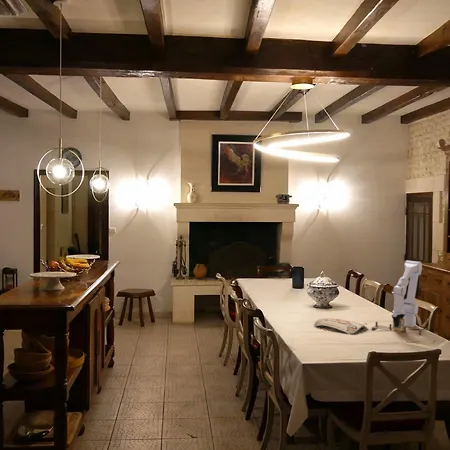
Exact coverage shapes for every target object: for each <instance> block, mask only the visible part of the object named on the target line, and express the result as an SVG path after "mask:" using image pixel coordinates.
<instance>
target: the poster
mask: <svg viewBox="0 0 450 450" xmlns="http://www.w3.org/2000/svg"><path fill="white" fill-rule="evenodd" d="M366 325H368V323H366V322H365V323H359V322H354V321H350V320H346V319H341V318H333V317H331V318H329V317H325V318H319V319H317V320H316V321H315V322H314V324H313V327H315V328H316V327H318V326H325V327H330V328H334V329H337V330H339V331H342V332H345V333H346V334H347V335H349V336H350V335H353V334H355V333H357V332H358V331H359V330H360V329H361V328H362V327H364V326H366Z"/></svg>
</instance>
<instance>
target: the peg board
mask: <svg viewBox="0 0 450 450" xmlns="http://www.w3.org/2000/svg"><path fill="white" fill-rule="evenodd" d="M378 323H379V322H378V321H375V325H374V326H372V327H371V331H376V330H384V331H386V332H387V331H388V332H394V333H399V334H405V335H409V336H414V337H421V336H423V335H424V334H425V333H424V332H422V329H421V328H419V329H418V331H413V330H409V329H407V326H404V330H403V331H399V330H395V329H392V327H393V323H389V326H387V325H381V324H378Z"/></svg>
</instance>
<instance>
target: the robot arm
mask: <svg viewBox="0 0 450 450" xmlns="http://www.w3.org/2000/svg"><path fill="white" fill-rule="evenodd" d="M403 264H404V272H403V275H402V276H401V277H400V278H399V280H398V281H397V284H396V285H394V286H393V288H392V294H393V299H394V300H393V310H391V312H392V315H391V318H392V322H393V321H394V326H395V327H398V326H399V321H400V319H401V318H402V319H405V324H404V327H406V328H407V327H410V328H413V327H415V326H416V325H417V324H416V323H417V316H416V315H417V314H418V312H419V303H418V302H417V301H416V300H415V298H416V293H417V287H418V280H419V276H420V275H421V274H422V270H423V265H422V262H421V261H414V260H405V262H404V263H403ZM407 287H408V289H407ZM406 294H407V295H406ZM405 295H406V298H405Z"/></svg>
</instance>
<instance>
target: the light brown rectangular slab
mask: <svg viewBox="0 0 450 450" xmlns="http://www.w3.org/2000/svg"><path fill="white" fill-rule="evenodd" d="M404 324H405V319H402V318H401V319H400V321H399V326H398V327H395V326H394V321H393V320H392V326H391V327H392V329H395V330H399V331H403V330H404V327H405V326H404Z"/></svg>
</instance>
